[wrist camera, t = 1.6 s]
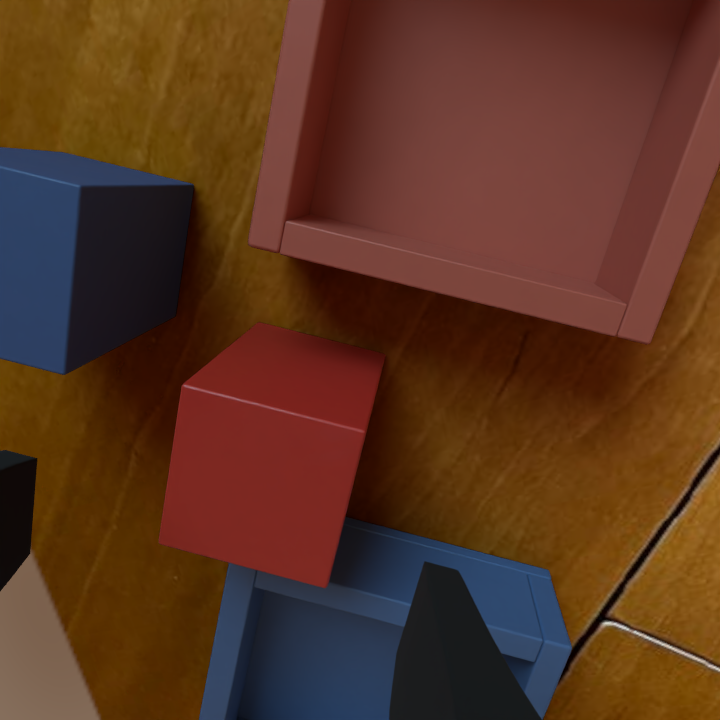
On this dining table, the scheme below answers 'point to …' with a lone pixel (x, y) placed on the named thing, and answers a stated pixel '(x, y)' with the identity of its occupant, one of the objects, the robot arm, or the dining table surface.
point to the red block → (270, 452)
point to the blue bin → (367, 629)
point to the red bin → (497, 149)
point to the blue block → (84, 256)
